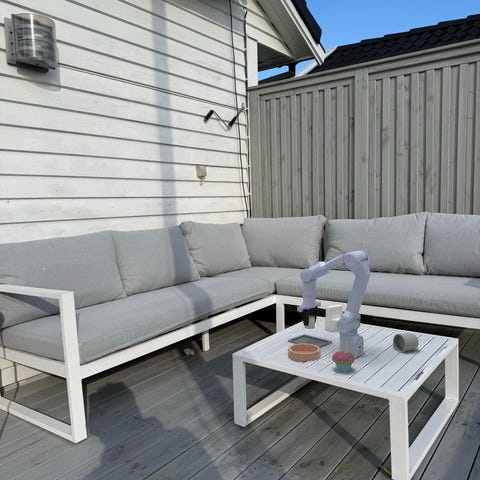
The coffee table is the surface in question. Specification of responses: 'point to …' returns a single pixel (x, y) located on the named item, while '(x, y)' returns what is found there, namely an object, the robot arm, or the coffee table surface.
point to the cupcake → (343, 360)
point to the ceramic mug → (405, 342)
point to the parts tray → (310, 340)
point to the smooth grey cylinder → (311, 323)
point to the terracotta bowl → (303, 352)
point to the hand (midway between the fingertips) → (309, 324)
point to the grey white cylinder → (332, 317)
